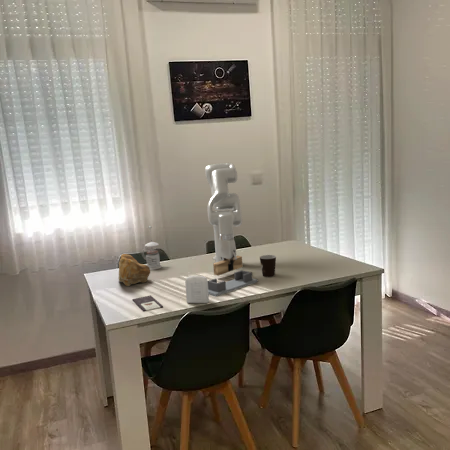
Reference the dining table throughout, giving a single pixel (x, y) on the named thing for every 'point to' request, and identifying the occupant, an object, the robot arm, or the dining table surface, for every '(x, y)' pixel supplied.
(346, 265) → the dining table surface
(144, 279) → the rough brown rock
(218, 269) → the slat
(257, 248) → the dining table surface
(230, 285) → the endcap board
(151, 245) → the french press
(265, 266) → the coffee mug
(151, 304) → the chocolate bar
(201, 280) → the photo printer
